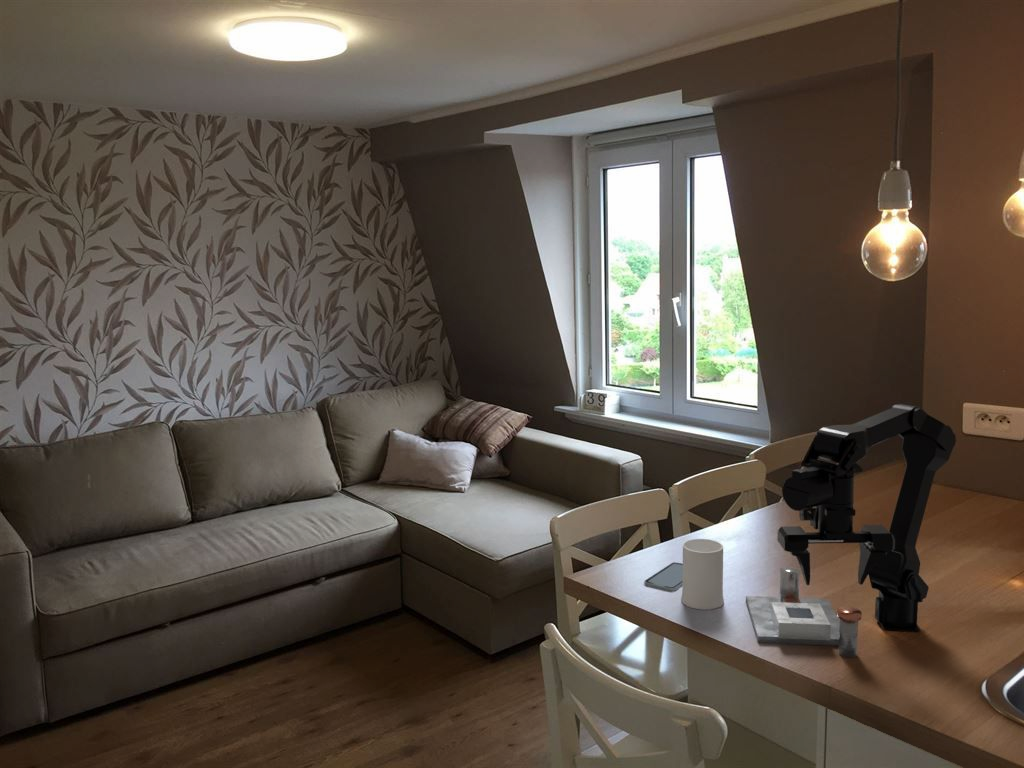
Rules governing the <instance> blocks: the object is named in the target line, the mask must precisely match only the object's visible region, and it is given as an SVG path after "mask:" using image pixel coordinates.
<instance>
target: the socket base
mask: <svg viewBox="0 0 1024 768" xmlns="http://www.w3.org/2000/svg"><path fill="white" fill-rule="evenodd" d="M779 570H780V571H779V574H780V575H779V577H780V578H779V596H759V595H758V596H755V595H753V596H752V595H746V596H745V604H746V607H747V610H748V614H749V617H750V620H751V623H752V627H753V630H754V634H755V637H756V640H758V641H757V643H761V642H765V643H766V642H767V643H768V642H769V643H768V644H786V643H788V644H789V643H791V644H792V645H813V646H814V645H816V646H817V645H818V646H819V645H820V646H838V647H839V627H840V618H838V617H837V612H835V610H834V608H833V606H832V605H831V603H830V600H829V598H822V597H821V598H818V597H817V598H816V597H815V598H814V597H800V569H799V568H797V567H794V566H782V567H781V568H780V569H779Z"/></svg>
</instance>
